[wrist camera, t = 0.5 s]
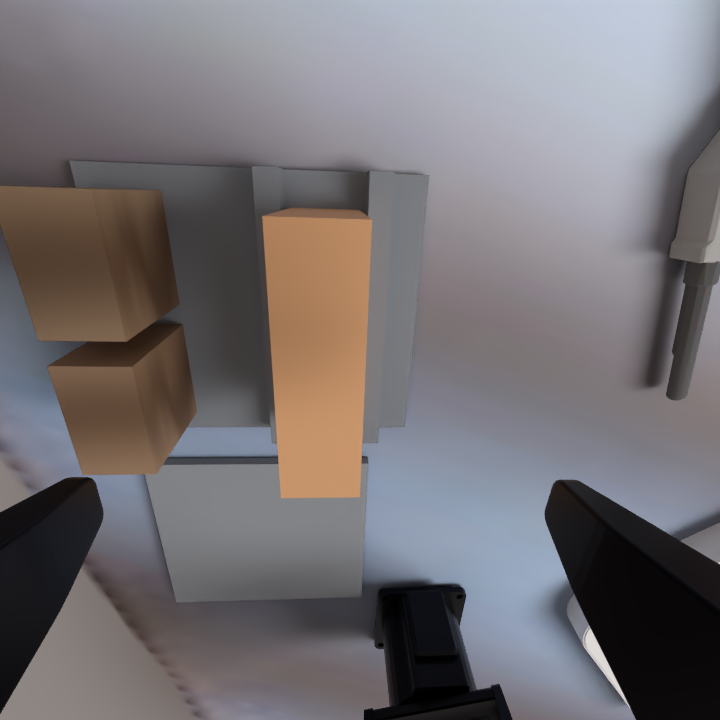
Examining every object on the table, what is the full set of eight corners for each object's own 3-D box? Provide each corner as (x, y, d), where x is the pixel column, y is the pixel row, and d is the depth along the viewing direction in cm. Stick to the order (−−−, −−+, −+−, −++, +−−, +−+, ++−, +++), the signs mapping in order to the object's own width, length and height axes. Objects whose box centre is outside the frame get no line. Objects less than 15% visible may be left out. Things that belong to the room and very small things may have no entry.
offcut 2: (197, 411, 21) (156, 474, 16) (140, 411, 20) (82, 474, 16) (182, 324, 19) (131, 367, 14) (119, 323, 18) (47, 366, 14)
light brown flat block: (353, 404, 21) (360, 497, 14) (298, 403, 21) (280, 498, 14) (359, 209, 17) (371, 219, 10) (291, 207, 17) (262, 215, 10)
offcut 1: (179, 304, 18) (126, 341, 14) (114, 303, 18) (38, 340, 13) (161, 190, 16) (91, 188, 12) (88, 187, 16) (-13, 185, 11)
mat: (360, 589, 28) (361, 597, 27) (179, 594, 27) (176, 602, 26) (367, 457, 23) (368, 463, 22) (147, 458, 22) (142, 465, 22)
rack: (403, 422, 22) (409, 442, 20) (138, 422, 21) (119, 443, 19) (426, 175, 17) (437, 173, 15) (77, 161, 16) (43, 157, 14)
